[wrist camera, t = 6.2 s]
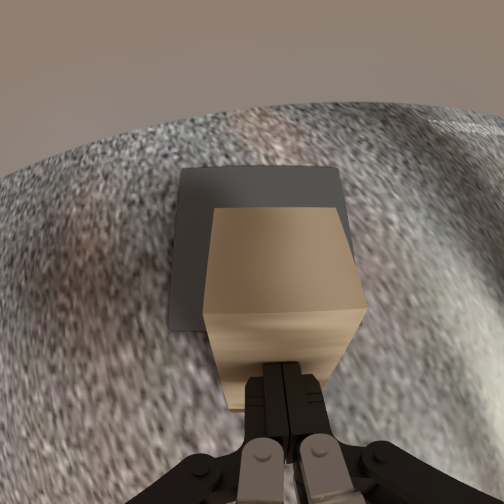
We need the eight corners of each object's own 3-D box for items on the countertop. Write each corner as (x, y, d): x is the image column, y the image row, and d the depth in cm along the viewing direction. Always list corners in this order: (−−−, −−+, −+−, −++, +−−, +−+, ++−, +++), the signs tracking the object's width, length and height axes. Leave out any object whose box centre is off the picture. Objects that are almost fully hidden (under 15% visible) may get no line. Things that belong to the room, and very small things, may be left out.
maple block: (301, 343, 21) (335, 207, 12) (307, 409, 17) (367, 308, 9) (231, 345, 21) (214, 208, 12) (230, 412, 17) (202, 313, 9)
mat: (336, 171, 26) (338, 167, 26) (359, 326, 21) (361, 325, 21) (183, 172, 26) (182, 168, 26) (170, 330, 21) (167, 329, 20)
